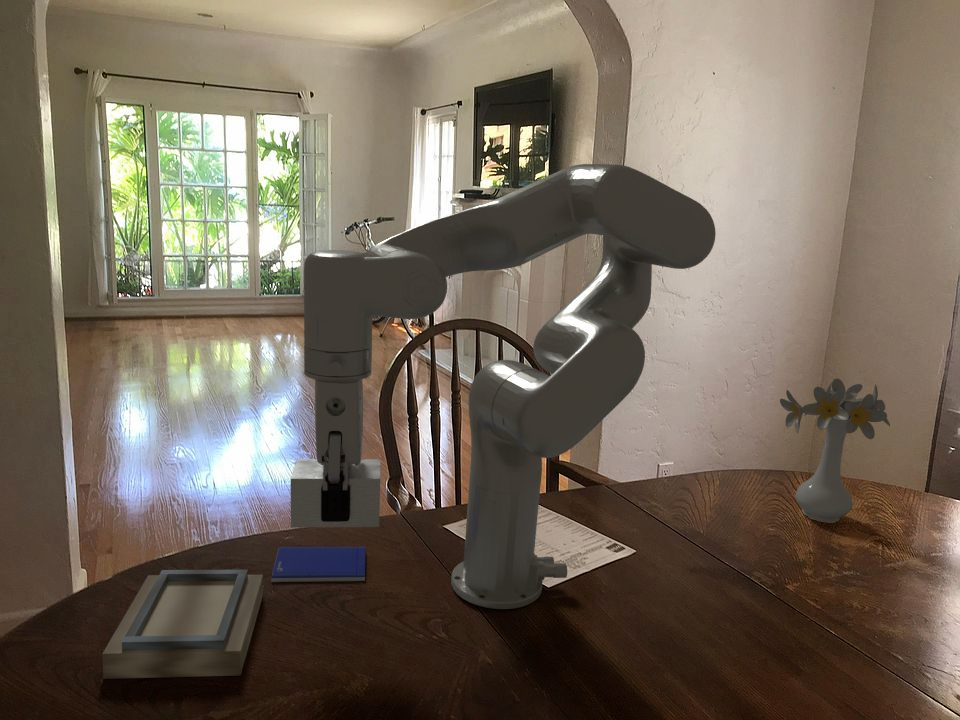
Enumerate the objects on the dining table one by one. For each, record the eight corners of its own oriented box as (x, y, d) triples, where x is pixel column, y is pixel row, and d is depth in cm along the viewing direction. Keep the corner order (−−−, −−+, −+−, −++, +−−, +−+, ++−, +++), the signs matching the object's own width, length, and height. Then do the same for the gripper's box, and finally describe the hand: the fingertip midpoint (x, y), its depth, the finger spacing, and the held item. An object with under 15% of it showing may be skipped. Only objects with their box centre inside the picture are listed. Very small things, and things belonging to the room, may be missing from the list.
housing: (379, 504, 92) (380, 453, 90) (379, 526, 86) (380, 472, 84) (297, 505, 90) (297, 452, 89) (291, 527, 84) (290, 471, 83)
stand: (262, 595, 95) (262, 567, 95) (240, 675, 80) (240, 642, 79) (149, 596, 93) (147, 568, 92) (103, 678, 78) (101, 645, 77)
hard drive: (271, 575, 99) (365, 573, 101) (278, 545, 106) (365, 545, 108) (271, 585, 99) (364, 584, 101) (278, 555, 107) (365, 555, 109)
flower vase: (752, 504, 136) (773, 373, 130) (837, 501, 140) (862, 374, 135) (796, 536, 124) (822, 393, 118) (889, 532, 128) (918, 393, 122)
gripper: (370, 381, 76) (367, 541, 80) (372, 344, 92) (369, 479, 97) (296, 380, 75) (297, 542, 79) (311, 343, 91) (311, 479, 96)
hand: (337, 506), depth 88 cm, fingers closed on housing, 6 cm apart
